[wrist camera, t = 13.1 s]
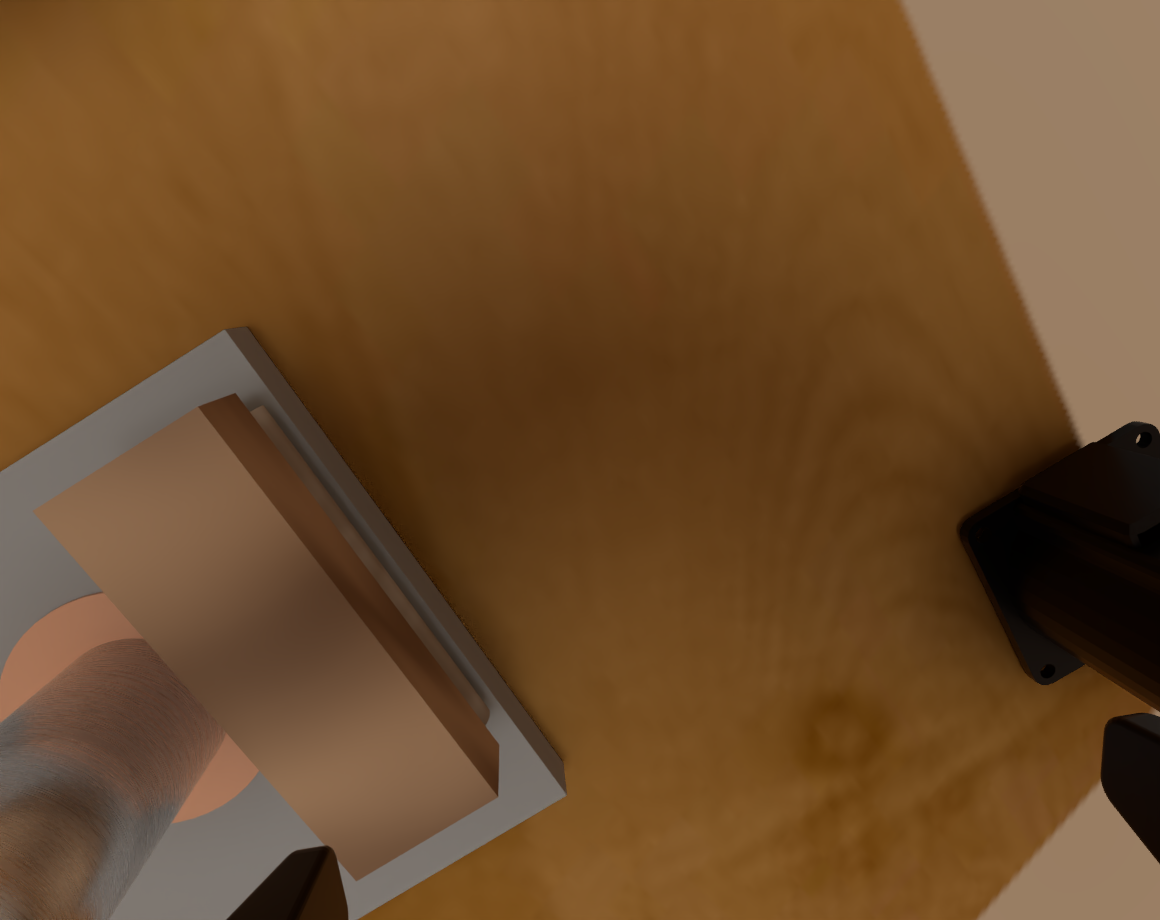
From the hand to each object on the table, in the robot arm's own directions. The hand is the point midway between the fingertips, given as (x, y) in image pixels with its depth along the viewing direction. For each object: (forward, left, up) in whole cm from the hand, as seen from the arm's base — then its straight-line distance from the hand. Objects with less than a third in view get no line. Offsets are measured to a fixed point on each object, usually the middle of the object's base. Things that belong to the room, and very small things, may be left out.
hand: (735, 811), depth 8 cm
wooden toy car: (+2, +8, -12) cm, 14 cm away
